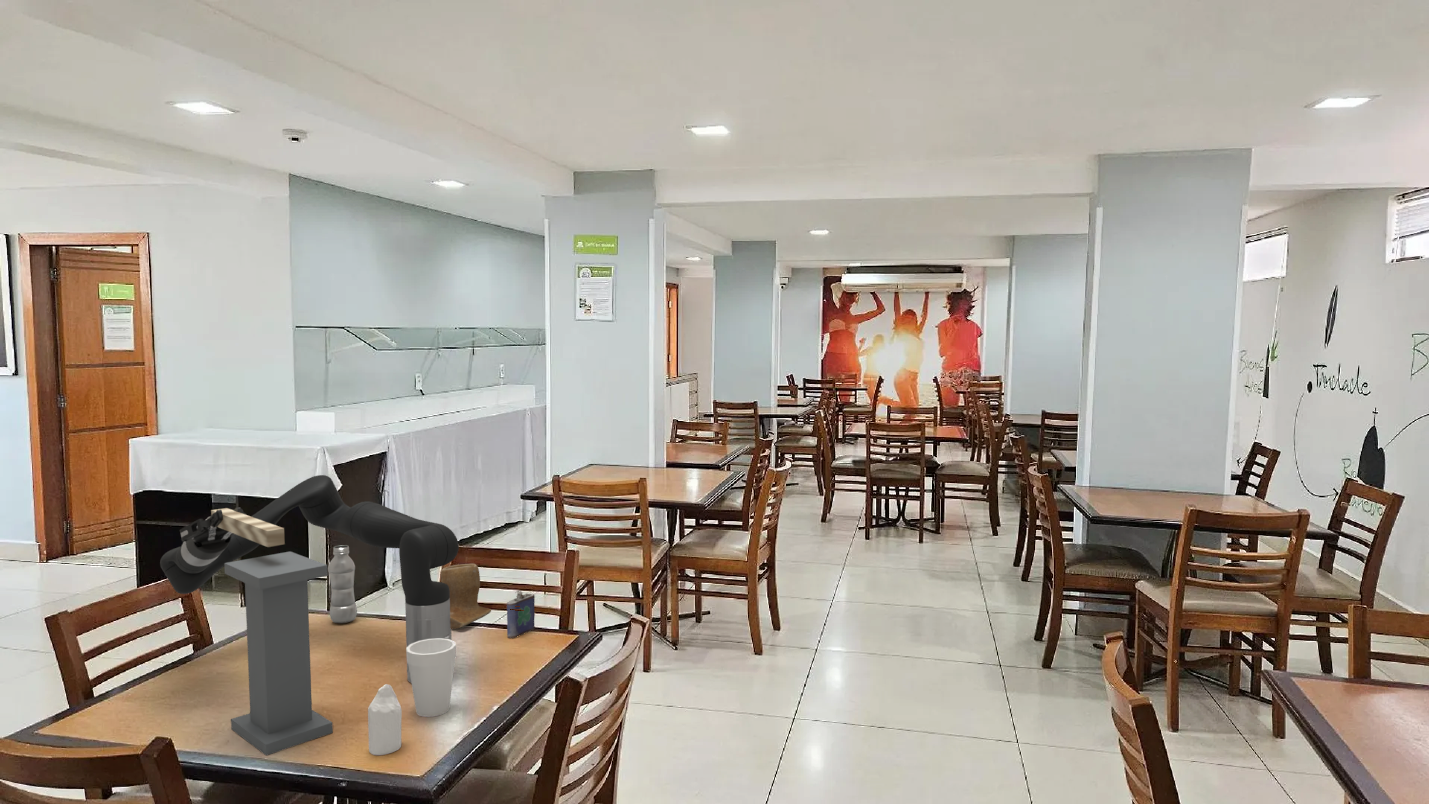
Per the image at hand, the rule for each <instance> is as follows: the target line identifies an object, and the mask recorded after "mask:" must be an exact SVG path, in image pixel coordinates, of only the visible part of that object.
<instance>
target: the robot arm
mask: <svg viewBox="0 0 1429 804" xmlns="http://www.w3.org/2000/svg"><path fill="white" fill-rule="evenodd" d="M296 507H299V509H300V511H301V513H302V515H303V517H304V519H305V521H307V522H308V523H309V524H311V525H313V526H316V527H320V528H323V529H328V530H332V531H335V532H338V533H341V534H344V535H346V536H348V537H351V538H354V539H355V540H358V541H359V542H362V543H364V544H366V545H369V546H372V547H378V548H387V549H399V550H398V552H399V553H398V554H399V565H400V566H399V568H400V577H401V580H400V581H401V586H402V591H403V594H404V599H405V600H404V601H405V603H404V605H405V607H404V608H405V638H406V640H405V641H406V642H405V643H406V648H407V647H408V646H409V645H410V644H412V643H415V642H417V641H421V640H426V639H435V638H443V639H450V640H452V638H453V637H452V629H451V628H450V590H449V586H448V585H447V584H445V583H442V582H441V581H436V580H432V576H431V570H433V569H436V568H439V567H444V566H445V565H448V564H450V563H451V562H453V561H454V559H456V557H457V556H458V553H459V548H460V546H459V545H460V544H459V540H458V538H457V536H456V534H455V533H454V531H452V529H450V528H449V527H448V526H446V525H444V524H441V523H437V522H432V521H427V520H423V519H419V518H415V517H413V516H411V515H407V514H405V513H403V512H400V511H397V510H394V509H392V508H389V507H387V506H385V505H383V504H379V503H377V502H374V501H361V502H359V503H356V504H353V506H349V505H348V504H346V503H345V502H344V501H343V499H342V497H341V495H340V494H339V491H338V489H337V487H336V485H335V482H334V481H333V479H332V478H331V476H328V475H325V474H319V475H314V476H311V477H309V478H306V479H305V480H303V481H301V482H299V483H298V484H296V485H295V486H293V487H292V488H290V489H289V490H287V491H286V492H284V493H283V494H281V495H280V496H278V497H277V498H275V499H274V500H273V501H271V502H269V504H267V505H265V506H264V507H263V508H261V509H260V510H258V511H257V512H256V513H254V514H252V515H251V517H253V518H256V519H259V520H262V521H265V522H268V523H270V524H273V525H276V526H277V523H279V521H280V520H281V519H282V518H283V516H285V515H286V514H287V513H288V512H289V511H291V510H293V509H294V508H296ZM233 510H234V511H236V512H239V513H242V514H245V515H247V513H246V512H244V510H243V508H241V506H240V507H239V506H238V507H235V508H234V509H233ZM222 520H223V515H222V510H217V511H216V512H215V513H213V514H212V515H211V514H210V516H208V517H207V518H206V519H205V520H204V518H198V519H196V520H195V521H193V522H191V523H189V524H187V525H186V526H183V527H182V528H180V529H179V532H180V537H181V542H182V544H181V546H178V547H176V548H172V549H170V550H168V551H167V552H165V553H164V554H163V555H162V556H161V558H160V560H159V561H160V562H159V566H160V569H161V571H162V572H163V573H164V576H166V578H167V580H168V581H169V582H168V583H170V585H171V586H172V588H173V590H174V591H175V593H177V594H182V595H187V594H191V593H194V592H195V591H198V589H200V588H201V587H202V586H204V584H206V583H207V582H208V581H209V579H211V578H212V577H213V576H214V575H215V574H216V573H218V572H219V571H220V570H222V569H223V568H225V565H224V563H228V562H234V561H237V559H240V558H242V557H244V556H245V555H247V554H249V553H251V552H252V551H253V550H255V549H256V548H258V547H259V546H260V545H261V544H259V543H256V542H254V541H251V540H249V539H246V538H244V537H241V536H239V535H236V534H234V533H231V532H229V531H226V530H224V529H221V528H219V527H216V526H218V525H219V524H220V523H221V522H222ZM452 641H453V640H452ZM406 673H407V674H406V676H407V681H408V682H409V683H411V677H410V671H409V665H408V663H407V662H406ZM411 684H412V683H411Z"/></svg>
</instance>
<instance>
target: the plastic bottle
mask: <svg viewBox="0 0 1429 804" xmlns="http://www.w3.org/2000/svg"><path fill="white" fill-rule="evenodd" d="M332 554H333V558H332V559H331V560H330V562H329V563H328V565H327V573H328V576H329V582H330V592H331V596H330V598H331V599H330V608H329V617H330V620H331V621H332V622H333V623H335V624H346V623H349V622H350V623H351V622H353V621H354V620H356V618H357V614H358V613H357V612H358V609H357V603H356V599H355V592H354V587H355V586H354V584H355V582H354V581H355V570H356V565H355V562H354V560H353V559H352V558H351V557H350V556H349V554H350V547H349V545H347V544H345V545H343V544H342V545H335V546H333V552H332Z"/></svg>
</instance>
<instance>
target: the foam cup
mask: <svg viewBox="0 0 1429 804" xmlns="http://www.w3.org/2000/svg"><path fill="white" fill-rule="evenodd" d="M405 652H406V664H407V663H408V665H409V671H410V677H411V689H412V695H413V700H414V707H415V711H416V714H417V715H418V716H419V717H426V718H431V717H437V716H441V715H443V714H445V713H447V712H448V711H449V710H450V706H451V697H452V690H453V689H452V688H453V680H454V671H455V663H456V657H457V642H456V641H454V640H450V639H443V638H435V639H426V640H421V641H417V642H415V643H412V644H410V645H409V646H408V647H406V648H405Z"/></svg>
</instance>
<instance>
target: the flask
mask: <svg viewBox="0 0 1429 804" xmlns="http://www.w3.org/2000/svg"><path fill="white" fill-rule="evenodd" d="M514 593H515V594H516V598H513V599H511V600H509V601H507V602H506V621H507V622H506V624H507V627H506V631H507V633H506V637H507V639H511V638H512V639H514V638H515V637H516V638H518V637H520V636H519V635H521V636H524V635H525V634H526V633H529V632H532V631H534V630H535V627H536V626H535V618H536V617H535V615H536V613H535V602H536V601H535V598H536V597H535V594H532V593H525V594H523V593H524V592H522V590H517V591H516V592H514ZM515 606H520V607H515ZM510 609H521V610H524V611H515V610H510ZM531 630H532V631H531ZM524 633H525V634H524ZM517 636H518V637H517ZM516 638H515V639H516Z"/></svg>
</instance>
